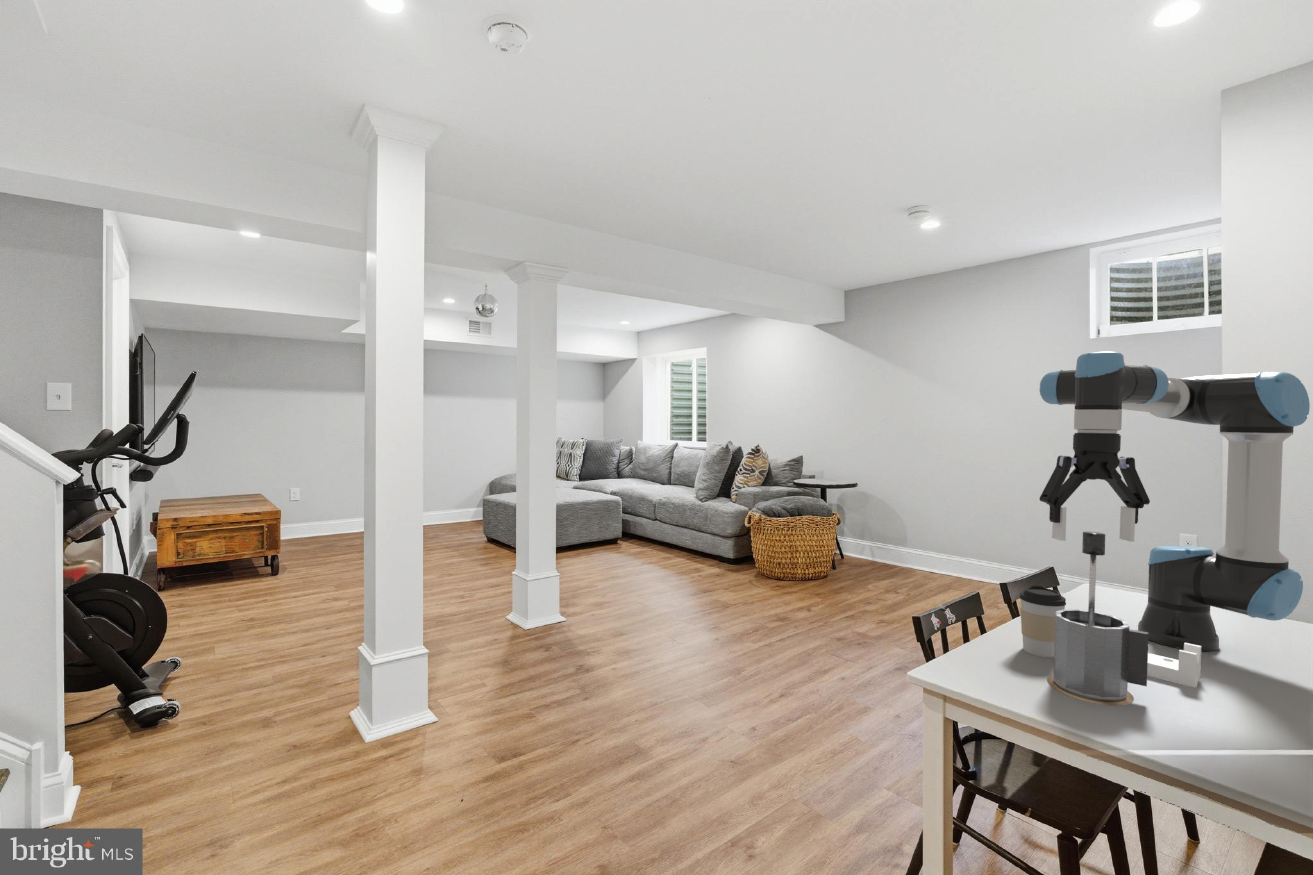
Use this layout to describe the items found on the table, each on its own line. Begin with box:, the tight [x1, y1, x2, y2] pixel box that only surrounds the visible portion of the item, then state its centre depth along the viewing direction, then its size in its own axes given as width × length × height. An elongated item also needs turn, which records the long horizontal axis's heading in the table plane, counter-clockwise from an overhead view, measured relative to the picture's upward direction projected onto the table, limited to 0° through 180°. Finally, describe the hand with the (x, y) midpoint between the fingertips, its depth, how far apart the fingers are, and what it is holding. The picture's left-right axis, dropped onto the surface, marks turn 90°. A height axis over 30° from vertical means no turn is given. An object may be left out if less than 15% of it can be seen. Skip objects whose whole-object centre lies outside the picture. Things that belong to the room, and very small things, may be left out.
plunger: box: [1077, 531, 1106, 627], centre depth 119 cm, size 8×8×20 cm
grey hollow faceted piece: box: [1053, 608, 1149, 702], centre depth 119 cm, size 13×12×14 cm
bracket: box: [1147, 643, 1202, 689], centre depth 127 cm, size 13×7×8 cm, turn 41°
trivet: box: [1046, 674, 1135, 706], centre depth 119 cm, size 14×14×1 cm
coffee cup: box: [1019, 585, 1067, 658], centre depth 138 cm, size 9×9×15 cm
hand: (1092, 539), depth 118 cm, fingers open, 13 cm apart
